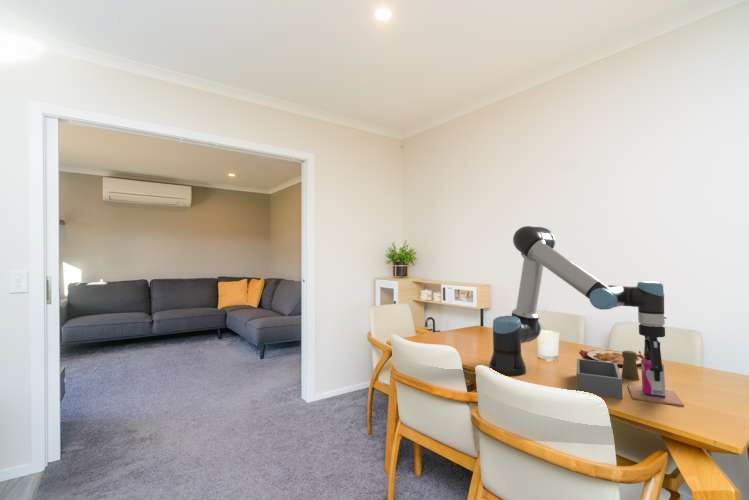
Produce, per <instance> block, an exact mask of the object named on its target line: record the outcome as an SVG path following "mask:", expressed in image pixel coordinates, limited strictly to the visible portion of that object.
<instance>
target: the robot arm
mask: <svg viewBox="0 0 749 500" xmlns="http://www.w3.org/2000/svg"><path fill="white" fill-rule="evenodd" d="M512 242H513V245H514V247H515V249H516V250H517V251H519V253H520V256H522V258H523V263H522V269H521V277H520V282H519V288H518V294H517V295H518V296H517V302H516V308H514V309H513V310H512V312H511V315H500V316H497V317H496V318H494V319H493V320H492V343H493V344H492V345H493V347H492V348H493V352H492V355H491V358H490V361H489V369H490V368H492V369H493V370H495V371H497V372H499V373H501V374H500V375H502V374H504V375H503V376H512V377H514V376H522V375H525V374H526V373H527V368H526V363H525V361H524V357H523V356H522V344H525V343H529V342H532V341H534V340H535V339H537V338H538V337H539V336H540V335H541V332H542V326H541V323H540V321H539V318H540V317H539V314H538V312H537V308H538V301H539V295H540V288H541V282H542V278H543V270H544V267H545V268H546V269H547V270H548V271H550V272H551V273H552V274H554V275H556V276H557V277H558V278H559V279H561V280H562V281H564V282H565V283H567V284H568V285H569V286H571V287H572V288H573V289H575V290H576V291H577V292H579V293H580V294H582V295H583V296H585V297H586V298H587V299H588V300H589V302H590V304H591V306H593V307H594V308H596V309H598V310H603V311H604V310H611V309H613V308H617V307H632V308H637V320H638V323H639V324H638V334H639V335H641V336H644V348H643V349H644V350H643V351H644V352H643V357H644V358H645V360H651V365H652V368H650V371H651V379H652V390H658V391H662V372H663V369H662V364H663V362H662V354H661V352H662V351H661V341H659V340H658V339H659V338H664V337H666V326H664V325H665V319H666V320H667V316H666V315H665V292H664V284H663V283H661V282H660V281H639V282H637V283H636V284H637V285H636V286H626V285H614V284H613V285H612V284H611V285H606V284H605V283H603V282H602V281H600V280H599V279H597V278H596V277H595V276H593V275H592V274H590V272H588V271H586V270H584V269H583V268H581V267H580V266H579V265H577V264H576V263H574V262H572V261H571V260H570V259H569V258H566V257H565V256H564V255H562V254H561V253H559V252H558V251H557V250H555V249H554V248H555V246H556V237H555V234H554V233H553V232H552V230H550V229H548V228H545V227H542V226H531V225H527V226H522V227H519V228H518V229H517V230H516V231H515V232H514V235H513V237H512Z"/></svg>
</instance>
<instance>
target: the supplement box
mask: <svg viewBox="0 0 749 500" xmlns="http://www.w3.org/2000/svg"><path fill="white" fill-rule="evenodd" d="M641 367H642V369H641V384H642V386H641V387H642V390H643V391H644V393H645V395H648V396H656V397H664V398H665V390H666V382H665V381H666V380H665V365H664V364H663V363H662V369H663V372H662V391H658V390H652V379H651V371H650V368H652V365H651V360H641Z"/></svg>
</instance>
